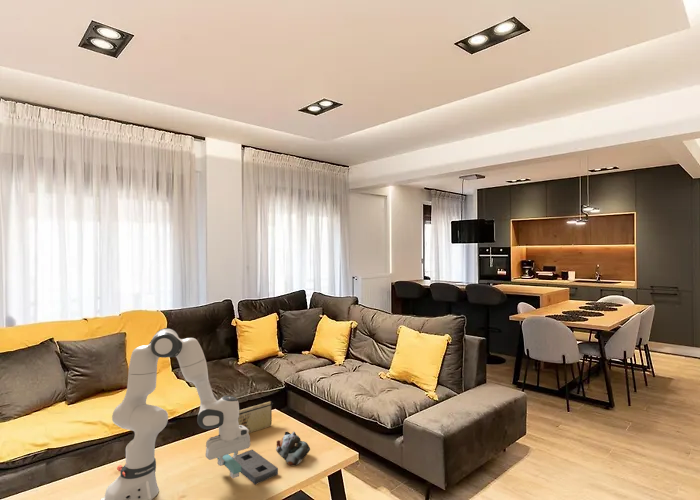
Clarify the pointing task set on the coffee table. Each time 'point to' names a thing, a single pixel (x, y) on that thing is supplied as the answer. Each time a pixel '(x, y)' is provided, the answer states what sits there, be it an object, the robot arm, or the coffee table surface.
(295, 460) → the lucky cat figurine
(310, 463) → the coffee table surface
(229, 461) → the peg strip
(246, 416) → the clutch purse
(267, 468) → the hole plate
